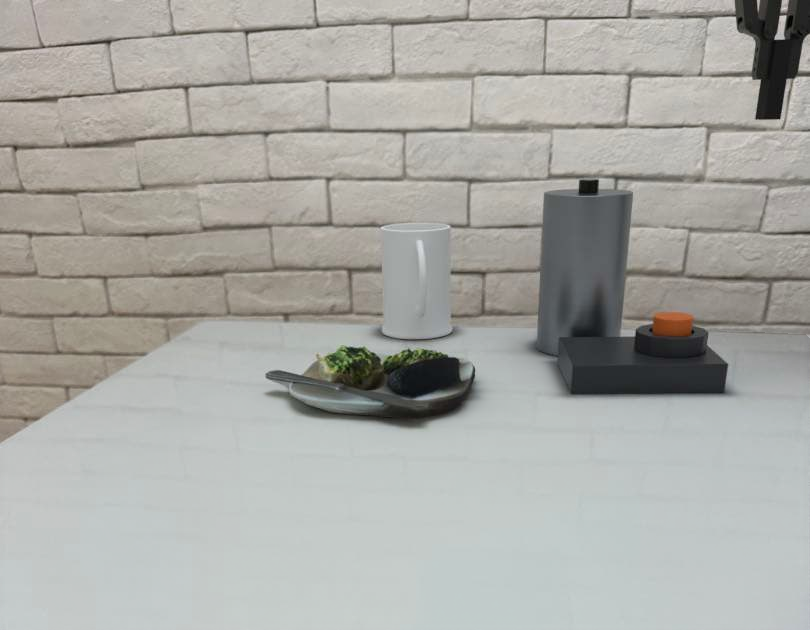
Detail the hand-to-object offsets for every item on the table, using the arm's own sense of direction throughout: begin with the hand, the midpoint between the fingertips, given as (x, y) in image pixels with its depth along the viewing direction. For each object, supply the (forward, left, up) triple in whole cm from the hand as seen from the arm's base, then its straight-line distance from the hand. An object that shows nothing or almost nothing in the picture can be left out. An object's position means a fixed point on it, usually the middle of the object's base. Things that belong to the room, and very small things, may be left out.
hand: (767, 119), depth 81 cm
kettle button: (+9, +9, -18) cm, 22 cm away
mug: (+34, -10, -23) cm, 42 cm away
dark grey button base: (+12, +9, -22) cm, 27 cm away
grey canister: (+16, -3, -22) cm, 28 cm away
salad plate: (+36, +14, -23) cm, 45 cm away
